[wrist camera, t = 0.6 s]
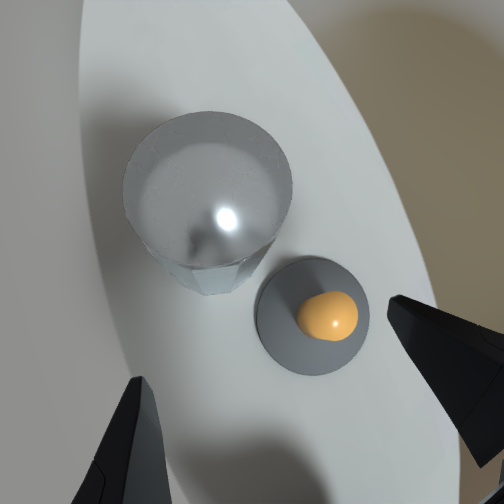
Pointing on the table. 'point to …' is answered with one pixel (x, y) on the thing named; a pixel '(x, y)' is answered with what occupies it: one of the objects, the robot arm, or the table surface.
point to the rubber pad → (285, 312)
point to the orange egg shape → (328, 316)
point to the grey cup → (208, 198)
